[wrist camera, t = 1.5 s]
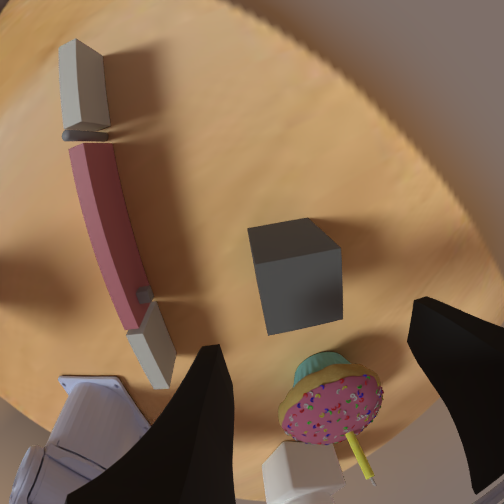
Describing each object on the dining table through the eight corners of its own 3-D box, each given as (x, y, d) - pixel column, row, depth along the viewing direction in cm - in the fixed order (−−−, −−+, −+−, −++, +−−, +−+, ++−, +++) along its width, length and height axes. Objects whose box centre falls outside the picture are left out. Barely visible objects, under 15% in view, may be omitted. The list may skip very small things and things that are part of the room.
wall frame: (176, 353, 21) (167, 396, 17) (163, 354, 21) (152, 397, 17) (102, 55, 13) (69, 34, 8) (87, 62, 13) (51, 43, 8)
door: (163, 295, 19) (150, 327, 15) (141, 298, 19) (124, 330, 15) (123, 139, 15) (95, 137, 12) (99, 147, 15) (68, 149, 12)
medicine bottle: (307, 465, 30) (323, 533, 19) (260, 464, 29) (270, 539, 18) (333, 440, 28) (357, 517, 17) (282, 439, 27) (299, 527, 16)
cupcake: (378, 357, 23) (436, 454, 12) (315, 409, 25) (345, 507, 14) (321, 317, 21) (384, 445, 10) (251, 381, 23) (266, 505, 12)
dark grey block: (313, 272, 20) (342, 318, 14) (257, 283, 19) (267, 335, 14) (307, 217, 18) (341, 248, 12) (247, 228, 18) (255, 264, 12)
